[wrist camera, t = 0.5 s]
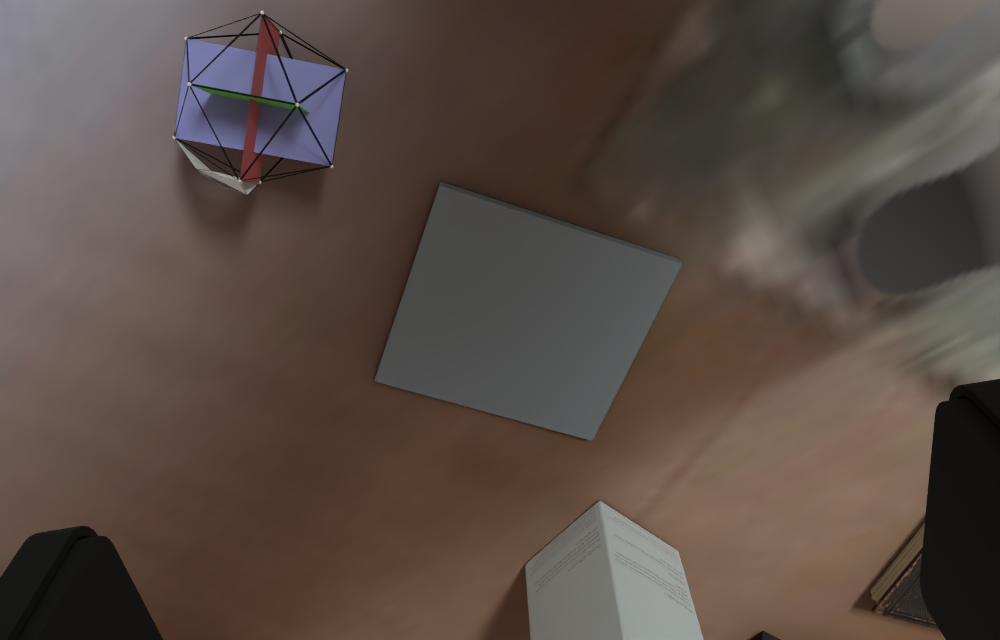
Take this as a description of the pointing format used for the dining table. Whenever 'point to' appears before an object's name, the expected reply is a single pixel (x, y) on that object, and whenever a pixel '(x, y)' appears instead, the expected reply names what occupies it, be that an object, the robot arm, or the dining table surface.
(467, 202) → the mat
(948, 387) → the dining table surface
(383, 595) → the dining table surface
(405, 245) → the dining table surface
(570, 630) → the supplement box
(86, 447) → the dining table surface
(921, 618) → the hardcover book
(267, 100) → the geometric puzzle
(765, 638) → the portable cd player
